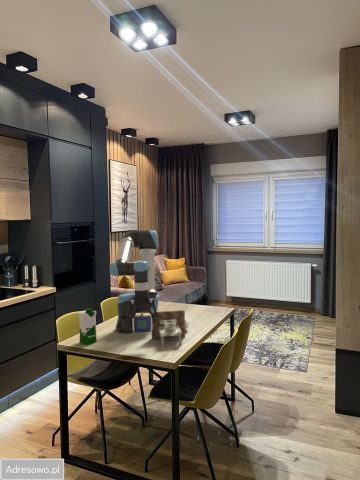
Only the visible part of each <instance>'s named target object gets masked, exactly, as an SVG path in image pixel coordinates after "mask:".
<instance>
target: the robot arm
mask: <svg viewBox="0 0 360 480" xmlns="http://www.w3.org/2000/svg"><path fill="white" fill-rule="evenodd" d="M118 245H119V249H118V252H117V255H116V258H115V259H116V260H115V261H114V262H111V263H110V264H109V274H110V276H112V277H126V276H129V277H130V276H131V277H132V276H133V280H134V281H133V284H134V285H133V287H134V292H125V293H122V294H119V295H118V297H117V321H116V324H115V332H116V333H117V332H118V333H123V334H125V333H126V334H128V333H135V332H134V316H136V315H137V314H141V313H143V314H149V315H150V316H152V317H151V330H152V324H153V323H154V317H157V312H158V310H159V305H160V304H159V303H160V294H158V291H157V290H156V289H155V286H156V285H155V284H156V283H155V281H156V278H155V274H156V273H155V253H156V252H157V249H159V236H158V233H157V231H156V230H155V229H153V230H152V229H149V230H148V229H145V230H131V231H129V232H127V233H124V235H123V236H122V237H121V238H120V240H119V243H118ZM133 249H138V251H139V252H140V254H141V256H140V258H141V259H140V260H135V261H134V262H131V261H130V258H131V254H132V250H133ZM152 312H154V313H155V314H154V315H153V313H152Z"/></svg>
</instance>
